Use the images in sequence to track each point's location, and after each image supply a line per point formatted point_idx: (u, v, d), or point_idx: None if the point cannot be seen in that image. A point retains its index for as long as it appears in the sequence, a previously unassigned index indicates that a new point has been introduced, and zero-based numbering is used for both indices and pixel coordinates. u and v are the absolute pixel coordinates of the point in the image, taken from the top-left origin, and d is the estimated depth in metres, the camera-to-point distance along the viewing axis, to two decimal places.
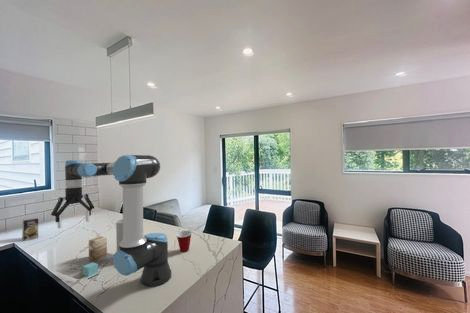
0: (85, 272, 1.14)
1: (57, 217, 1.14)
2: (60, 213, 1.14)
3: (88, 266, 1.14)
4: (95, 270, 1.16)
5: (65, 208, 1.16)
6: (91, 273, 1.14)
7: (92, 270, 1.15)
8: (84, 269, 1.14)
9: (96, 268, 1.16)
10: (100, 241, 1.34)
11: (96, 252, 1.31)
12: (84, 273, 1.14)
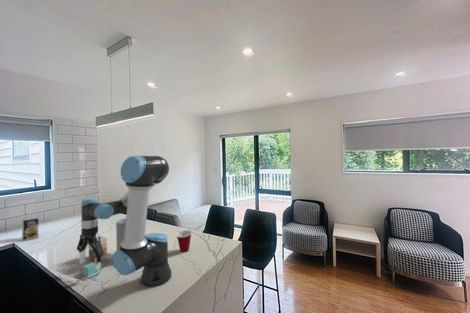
0: (85, 272, 1.14)
1: None
2: (80, 249, 1.18)
3: (88, 266, 1.14)
4: (95, 270, 1.16)
5: (82, 246, 1.17)
6: (91, 273, 1.14)
7: (92, 270, 1.15)
8: (84, 269, 1.14)
9: None
10: (100, 241, 1.34)
11: None
12: (84, 273, 1.14)
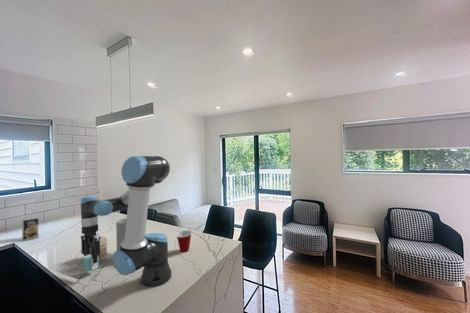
0: (85, 265, 1.14)
1: (85, 256, 1.17)
2: (84, 252, 1.16)
3: (88, 258, 1.14)
4: None
5: (85, 247, 1.16)
6: None
7: None
8: (85, 261, 1.14)
9: (97, 260, 1.16)
10: (100, 241, 1.34)
11: None
12: (85, 265, 1.14)
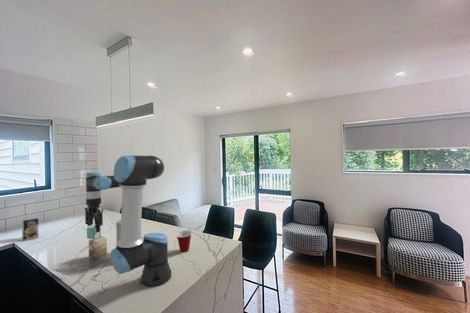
0: (89, 233, 1.25)
1: (88, 226, 1.28)
2: (88, 222, 1.28)
3: (92, 228, 1.26)
4: None
5: (89, 218, 1.27)
6: None
7: None
8: (88, 230, 1.26)
9: None
10: (100, 241, 1.34)
11: (96, 252, 1.31)
12: (88, 234, 1.26)
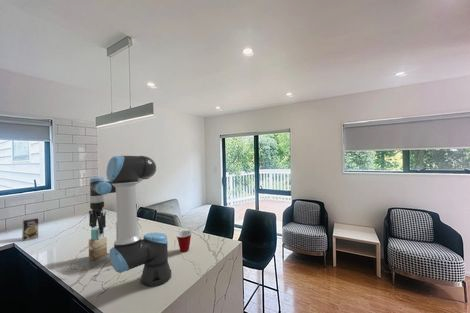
0: (93, 235, 1.34)
1: (92, 228, 1.37)
2: (92, 225, 1.36)
3: (95, 229, 1.34)
4: None
5: (93, 220, 1.36)
6: None
7: None
8: (92, 232, 1.34)
9: None
10: (100, 241, 1.34)
11: (96, 252, 1.31)
12: (92, 235, 1.34)
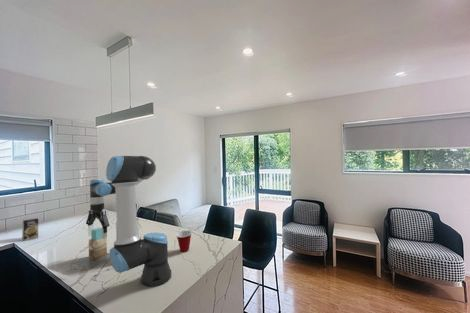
0: (93, 235, 1.33)
1: (88, 226, 1.38)
2: (89, 223, 1.38)
3: (96, 229, 1.34)
4: None
5: (91, 220, 1.37)
6: (98, 235, 1.34)
7: (99, 233, 1.34)
8: (92, 232, 1.34)
9: None
10: (100, 241, 1.34)
11: (96, 252, 1.31)
12: (92, 235, 1.34)
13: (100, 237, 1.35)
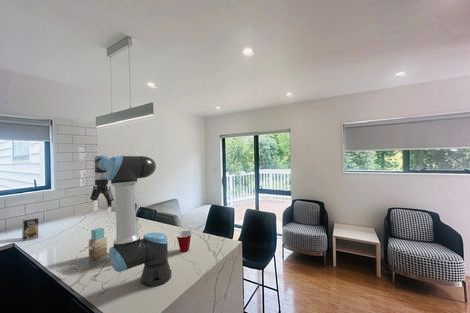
0: (93, 235, 1.33)
1: (93, 201, 1.44)
2: (93, 198, 1.43)
3: (96, 229, 1.34)
4: (102, 233, 1.36)
5: (95, 195, 1.42)
6: (98, 235, 1.34)
7: (99, 233, 1.34)
8: (92, 232, 1.34)
9: (102, 232, 1.36)
10: (100, 241, 1.34)
11: (96, 252, 1.31)
12: (92, 235, 1.34)
13: (100, 237, 1.35)
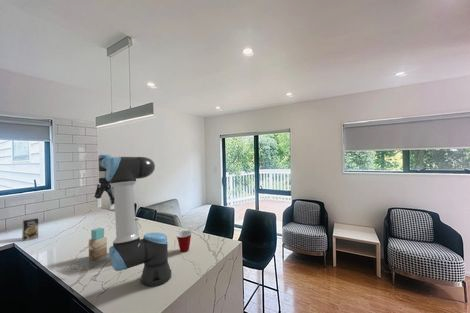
0: (93, 235, 1.33)
1: (97, 199, 1.48)
2: (97, 196, 1.47)
3: (96, 229, 1.34)
4: (102, 233, 1.36)
5: (99, 193, 1.46)
6: (98, 235, 1.34)
7: (99, 233, 1.34)
8: (92, 232, 1.34)
9: (102, 232, 1.36)
10: (100, 241, 1.34)
11: (96, 252, 1.31)
12: (92, 235, 1.34)
13: (100, 237, 1.35)
